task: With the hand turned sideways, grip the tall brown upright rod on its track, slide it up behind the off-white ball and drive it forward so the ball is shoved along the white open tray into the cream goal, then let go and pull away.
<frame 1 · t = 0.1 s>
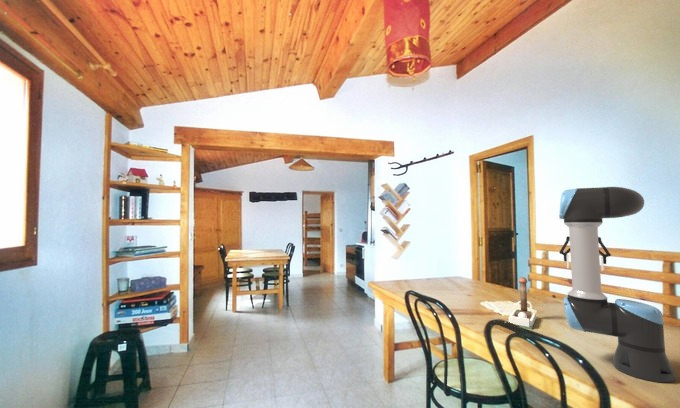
hand: (584, 269, 153), 28 cm above the table, tool pointing down, fingers open, 13 cm apart
ball: (522, 316, 156), point 3 cm above the table, touching white open tray
brown upright rod: (523, 296, 162), point 12 cm above the table, slide at 0.0 cm
white open tray: (522, 322, 156), on the table
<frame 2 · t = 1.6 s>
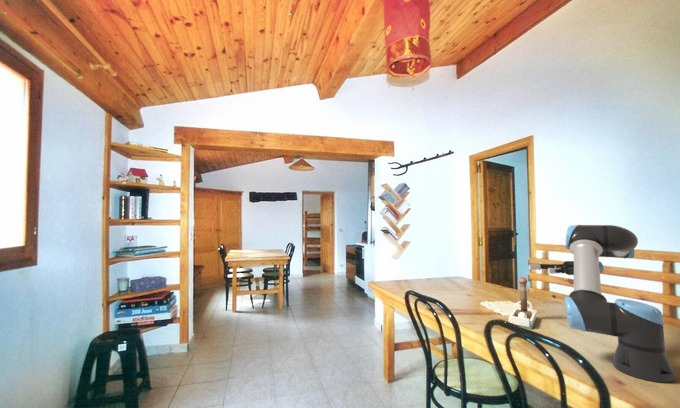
hand: (538, 268, 164), 26 cm above the table, tool horizontal, fingers open, 13 cm apart
nothing on the table moved.
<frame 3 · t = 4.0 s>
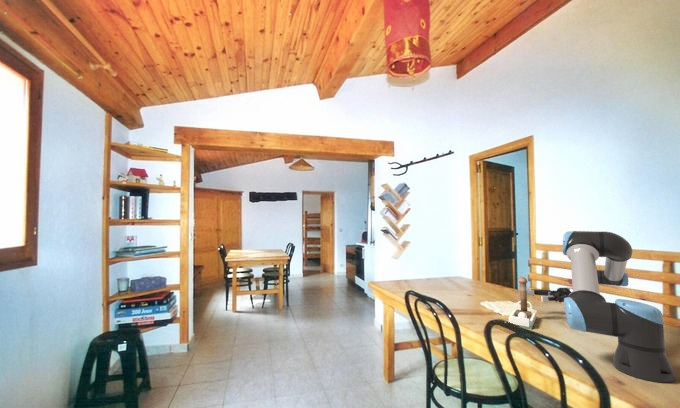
hand: (532, 295, 164), 12 cm above the table, tool horizontal, fingers open, 13 cm apart
nothing on the table moved.
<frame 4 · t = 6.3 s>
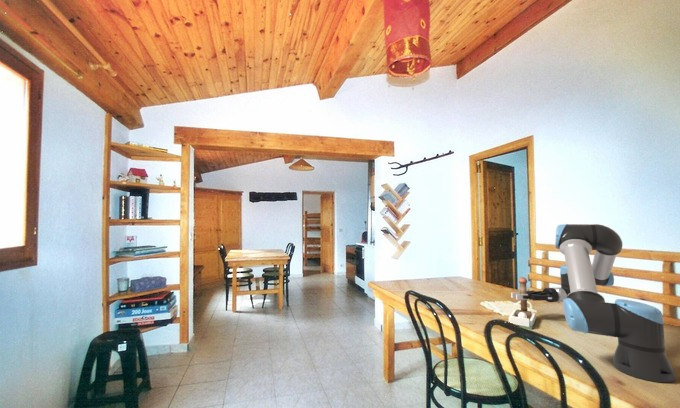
hand: (514, 296, 162), 12 cm above the table, tool horizontal, fingers closed on brown upright rod, 3 cm apart
brown upright rod: (523, 296, 162), point 12 cm above the table, slide at 0.0 cm, touching gripper
everything else where it was.
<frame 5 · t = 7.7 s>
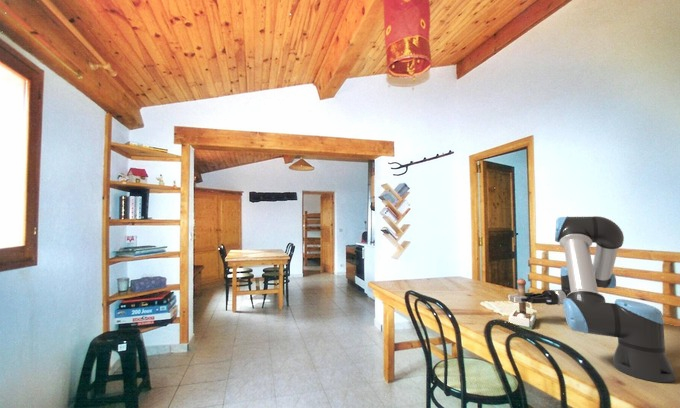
hand: (511, 298, 157), 12 cm above the table, tool horizontal, fingers open, 4 cm apart
ball: (521, 317, 154), point 3 cm above the table, tilted 89°, touching white open tray, brown upright rod
brown upright rod: (522, 298, 158), point 12 cm above the table, slide at 5.2 cm, touching ball, gripper
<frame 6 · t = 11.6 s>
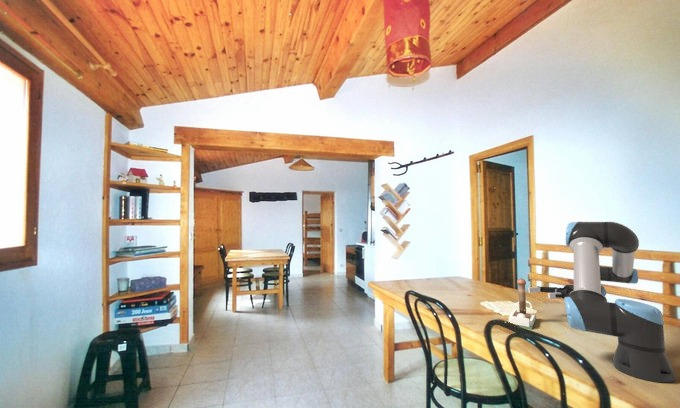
hand: (538, 292, 158), 15 cm above the table, tool horizontal, fingers open, 13 cm apart
brown upright rod: (522, 298, 158), point 12 cm above the table, slide at 5.2 cm, touching ball
everything else where it was.
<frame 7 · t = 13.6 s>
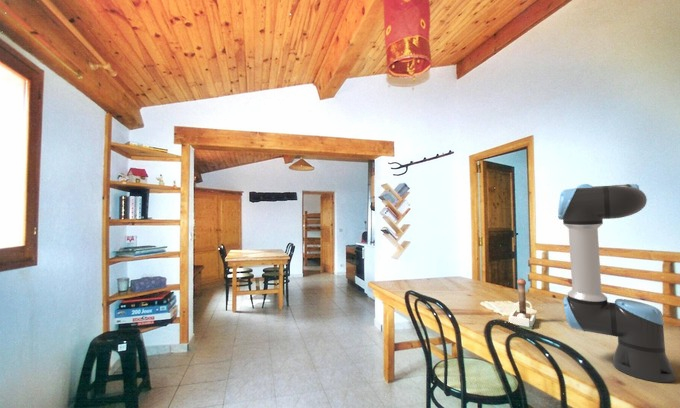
hand: (578, 263, 144), 32 cm above the table, tool tilted 20°, fingers open, 13 cm apart
nothing on the table moved.
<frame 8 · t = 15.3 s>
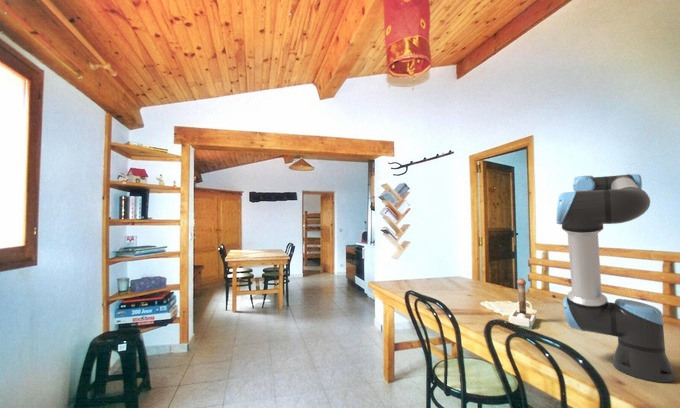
hand: (588, 253, 141), 37 cm above the table, tool pointing down, fingers open, 13 cm apart
nothing on the table moved.
at the end: ball inside the target area (2.6 cm from its centre), point 3.1 cm above the table; brown upright rod slide at 5.2 cm; the gripper is holding nothing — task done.
